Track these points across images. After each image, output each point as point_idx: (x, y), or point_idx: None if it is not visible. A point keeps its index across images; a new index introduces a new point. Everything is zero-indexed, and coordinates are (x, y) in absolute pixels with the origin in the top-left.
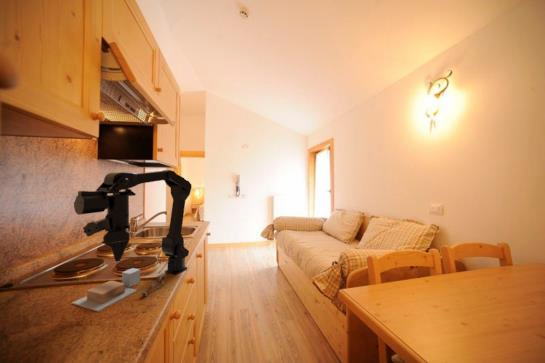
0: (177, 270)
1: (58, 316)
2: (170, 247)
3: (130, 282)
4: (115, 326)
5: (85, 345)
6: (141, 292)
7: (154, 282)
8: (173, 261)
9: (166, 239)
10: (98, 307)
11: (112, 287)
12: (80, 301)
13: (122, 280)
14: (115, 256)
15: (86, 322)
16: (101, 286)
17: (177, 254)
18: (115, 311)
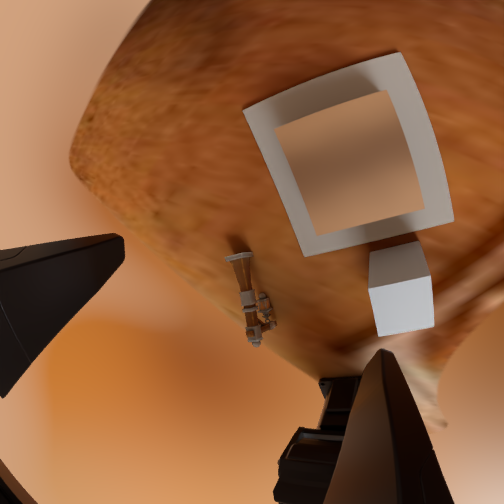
0: (328, 392)
1: (317, 10)
2: (290, 465)
3: (370, 266)
4: (138, 145)
5: (116, 90)
6: (242, 253)
7: (248, 308)
8: (325, 416)
9: (316, 501)
10: (266, 114)
11: (320, 182)
12: (385, 73)
13: (418, 253)
14: (69, 247)
15: (203, 80)
16: (381, 149)
17: (290, 441)
18: (207, 155)
